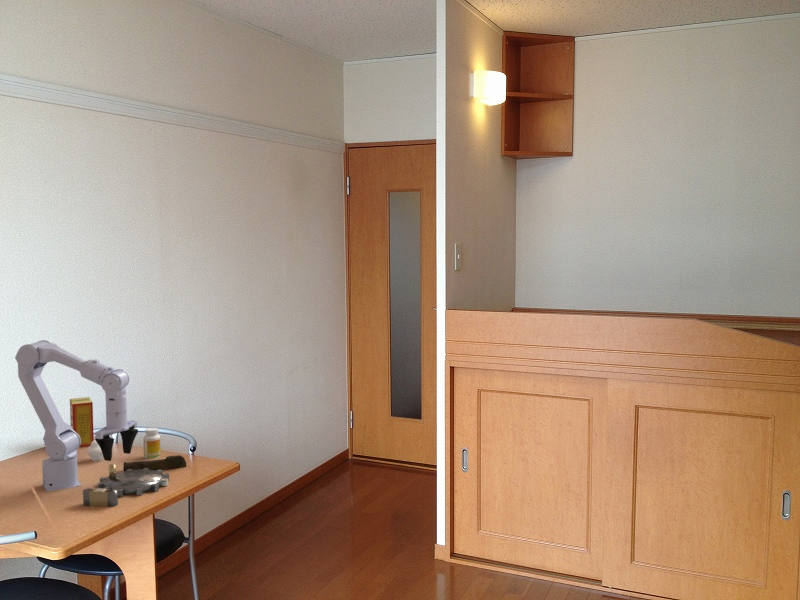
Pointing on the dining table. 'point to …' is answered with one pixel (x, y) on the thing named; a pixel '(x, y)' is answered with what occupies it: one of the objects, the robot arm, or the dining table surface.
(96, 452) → the white ribbed jar
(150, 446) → the supplement bottle
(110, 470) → the sprocket
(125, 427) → the robot arm
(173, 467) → the dark brown rough bar
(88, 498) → the cartridge fuse
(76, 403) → the baking soda box
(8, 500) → the dining table surface
